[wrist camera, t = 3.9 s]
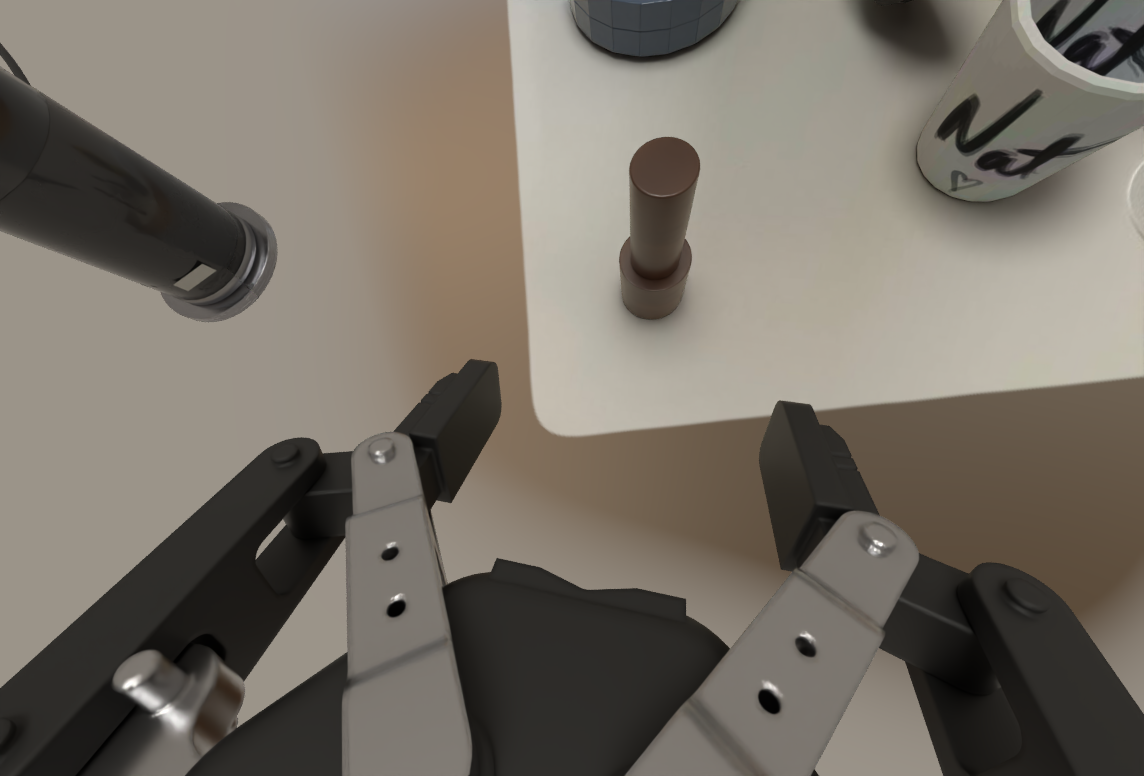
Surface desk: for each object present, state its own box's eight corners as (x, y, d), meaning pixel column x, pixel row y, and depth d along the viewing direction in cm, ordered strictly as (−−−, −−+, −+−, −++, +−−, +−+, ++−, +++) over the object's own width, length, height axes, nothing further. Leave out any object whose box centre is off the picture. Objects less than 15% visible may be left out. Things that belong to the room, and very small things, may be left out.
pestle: (609, 298, 31) (593, 180, 18) (645, 252, 31) (653, 106, 19) (658, 331, 30) (676, 230, 17) (694, 284, 30) (738, 151, 18)
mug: (864, 183, 30) (976, 44, 20) (963, 24, 31) (1114, -179, 21) (1019, 248, 27) (1231, 128, 18) (1120, 74, 29) (1370, -128, 19)
